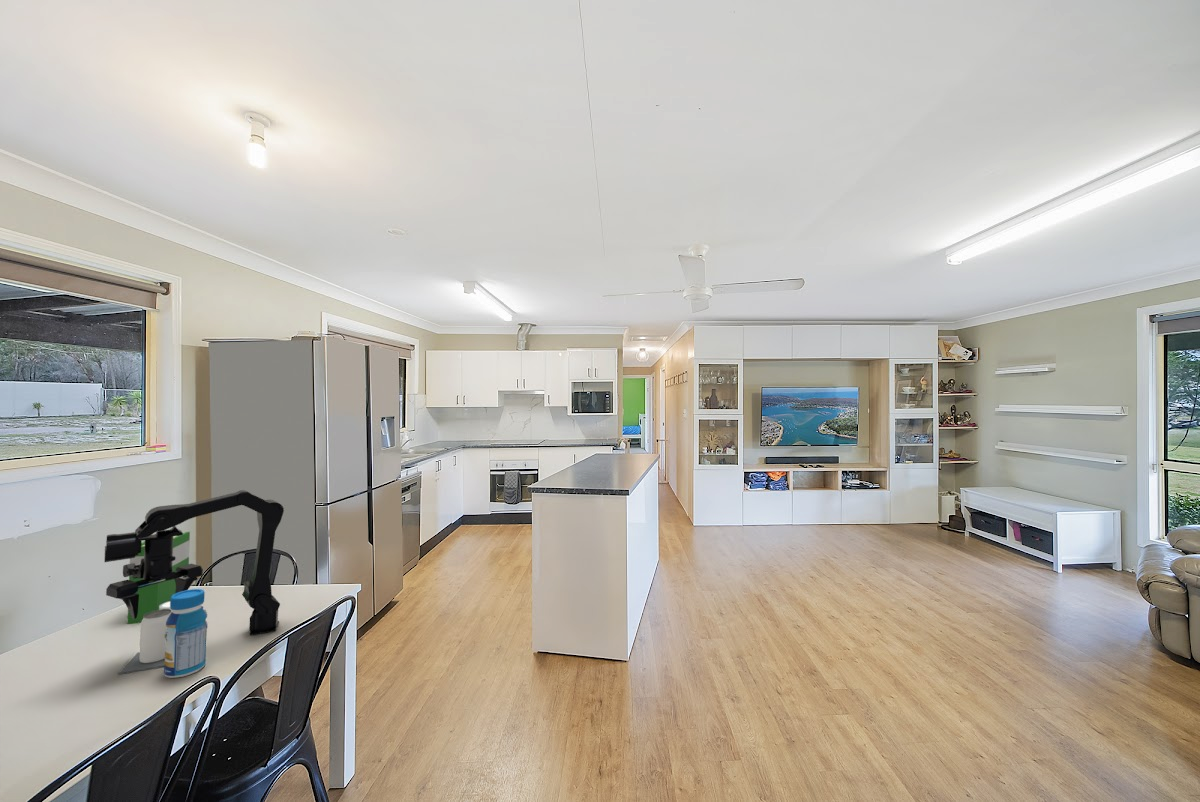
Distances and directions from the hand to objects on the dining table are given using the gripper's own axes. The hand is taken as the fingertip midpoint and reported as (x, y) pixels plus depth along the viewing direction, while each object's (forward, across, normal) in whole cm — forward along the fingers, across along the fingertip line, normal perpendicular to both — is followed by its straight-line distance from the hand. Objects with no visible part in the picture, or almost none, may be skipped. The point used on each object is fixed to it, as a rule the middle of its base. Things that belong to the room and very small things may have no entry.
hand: (156, 611), depth 127 cm
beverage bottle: (+13, 0, +13) cm, 19 cm away
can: (+13, 0, 0) cm, 13 cm away
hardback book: (+13, -17, -35) cm, 42 cm away
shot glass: (+13, -13, -19) cm, 27 cm away
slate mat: (+13, 0, 0) cm, 13 cm away
